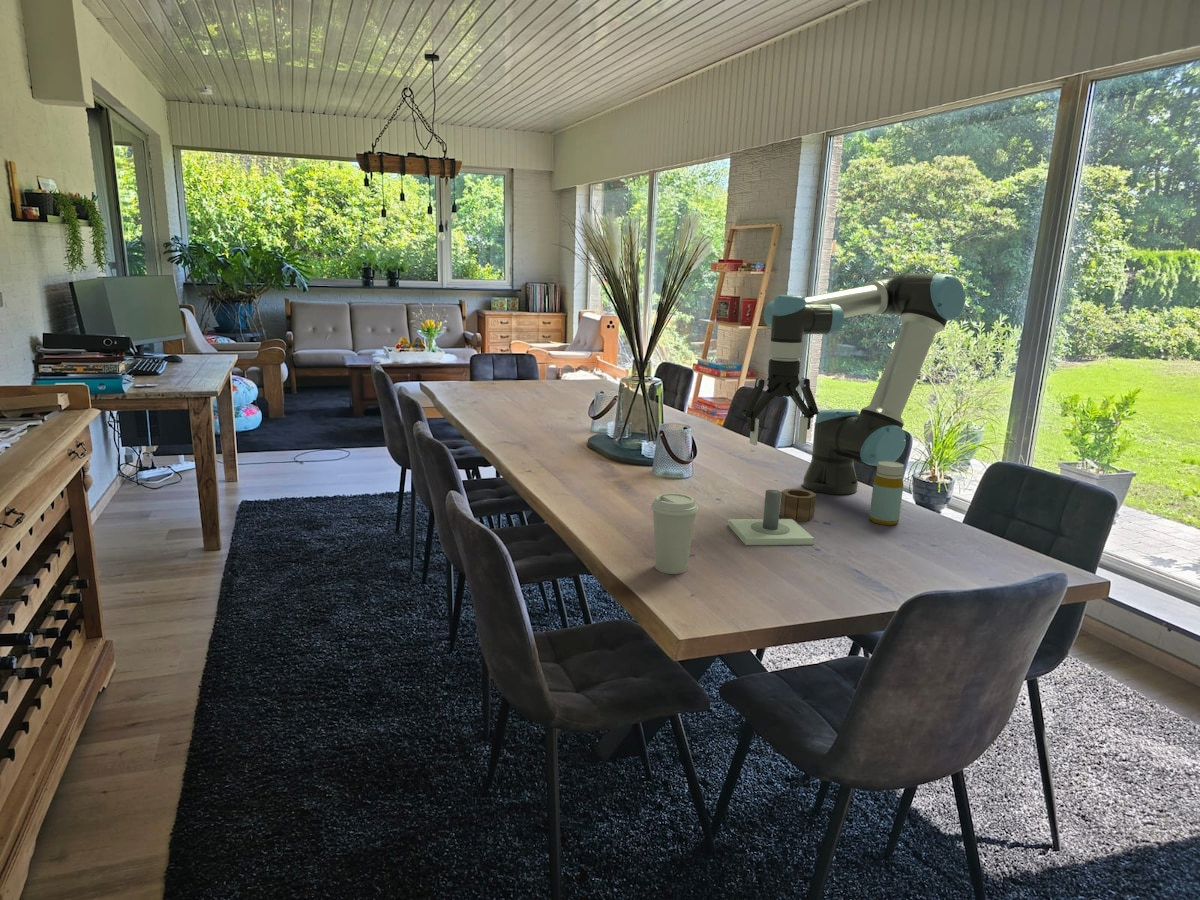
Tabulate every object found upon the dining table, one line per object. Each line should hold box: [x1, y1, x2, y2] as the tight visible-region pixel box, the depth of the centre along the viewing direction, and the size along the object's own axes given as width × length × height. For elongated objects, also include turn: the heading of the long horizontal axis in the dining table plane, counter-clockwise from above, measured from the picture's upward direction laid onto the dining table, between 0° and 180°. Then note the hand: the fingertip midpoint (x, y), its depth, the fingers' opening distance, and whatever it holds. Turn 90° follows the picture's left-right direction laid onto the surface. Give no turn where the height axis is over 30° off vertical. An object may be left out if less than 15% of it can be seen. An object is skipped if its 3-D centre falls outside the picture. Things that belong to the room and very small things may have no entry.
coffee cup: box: [650, 492, 699, 575], centre depth 157 cm, size 10×10×15 cm
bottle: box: [869, 461, 905, 526], centre depth 193 cm, size 7×7×15 cm
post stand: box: [728, 489, 815, 546], centre depth 180 cm, size 16×14×10 cm
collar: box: [779, 488, 817, 522], centre depth 196 cm, size 8×8×6 cm
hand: (777, 443), depth 194 cm, fingers open, 13 cm apart
